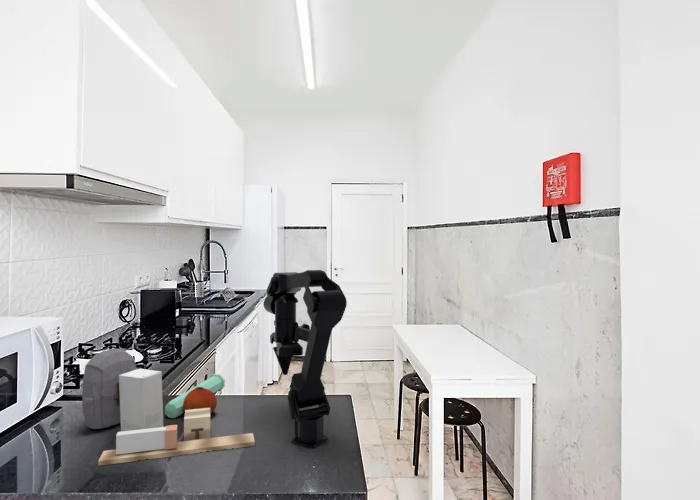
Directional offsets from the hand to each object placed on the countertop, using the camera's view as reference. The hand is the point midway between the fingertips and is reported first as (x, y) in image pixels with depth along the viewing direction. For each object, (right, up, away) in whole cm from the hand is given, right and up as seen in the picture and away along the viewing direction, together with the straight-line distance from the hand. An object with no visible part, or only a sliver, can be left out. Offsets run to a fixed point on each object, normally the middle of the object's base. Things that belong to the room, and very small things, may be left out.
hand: (285, 374), depth 122 cm
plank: (-21, -12, -19) cm, 31 cm away
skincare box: (-34, -12, -11) cm, 38 cm away
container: (-29, -12, +11) cm, 33 cm away
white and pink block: (-28, -11, -22) cm, 37 cm away
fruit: (-24, -12, +1) cm, 27 cm away
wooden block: (-20, -12, -12) cm, 26 cm away
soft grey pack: (-45, -12, -5) cm, 47 cm away
